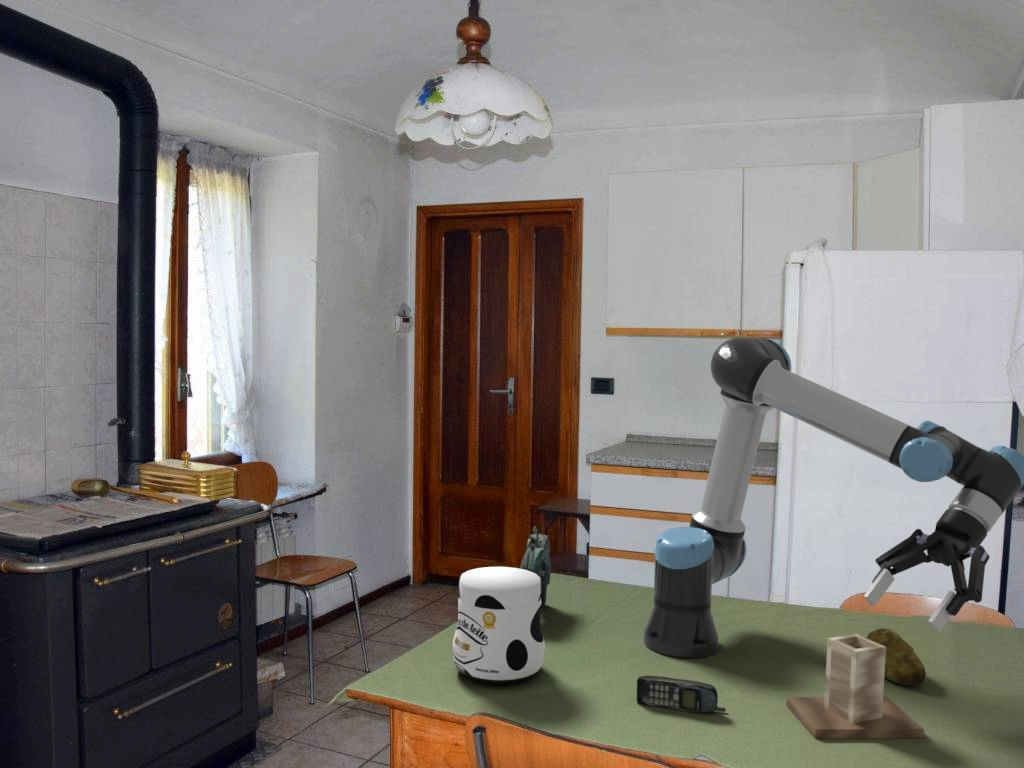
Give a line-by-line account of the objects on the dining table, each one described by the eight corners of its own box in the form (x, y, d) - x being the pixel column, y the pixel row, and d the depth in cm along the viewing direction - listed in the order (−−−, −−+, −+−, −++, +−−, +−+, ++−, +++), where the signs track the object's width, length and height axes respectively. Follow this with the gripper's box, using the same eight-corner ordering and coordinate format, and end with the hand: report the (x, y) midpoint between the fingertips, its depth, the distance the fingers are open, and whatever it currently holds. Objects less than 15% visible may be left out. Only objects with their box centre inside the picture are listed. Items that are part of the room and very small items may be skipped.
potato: (883, 689, 156) (885, 647, 156) (858, 662, 169) (861, 623, 169) (929, 691, 156) (932, 649, 155) (901, 664, 169) (903, 625, 168)
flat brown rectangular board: (815, 738, 136) (817, 685, 136) (786, 705, 148) (788, 656, 148) (923, 738, 137) (926, 685, 137) (886, 705, 149) (889, 657, 149)
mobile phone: (636, 678, 147) (725, 688, 143) (638, 672, 150) (726, 681, 145) (635, 706, 147) (725, 717, 143) (638, 699, 150) (725, 710, 146)
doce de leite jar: (436, 681, 155) (438, 584, 154) (473, 649, 171) (475, 560, 170) (526, 697, 149) (529, 596, 148) (555, 662, 165) (558, 571, 164)
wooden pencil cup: (852, 723, 139) (856, 651, 138) (824, 707, 145) (827, 638, 144) (882, 717, 141) (885, 646, 140) (852, 701, 147) (856, 633, 146)
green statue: (527, 600, 203) (530, 517, 201) (554, 603, 201) (557, 519, 200) (511, 628, 183) (513, 537, 182) (540, 631, 182) (543, 539, 181)
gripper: (1044, 552, 140) (975, 652, 135) (918, 519, 163) (855, 604, 158) (1025, 522, 138) (953, 624, 133) (899, 493, 160) (834, 579, 155)
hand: (899, 613), depth 145 cm, fingers open, 13 cm apart
